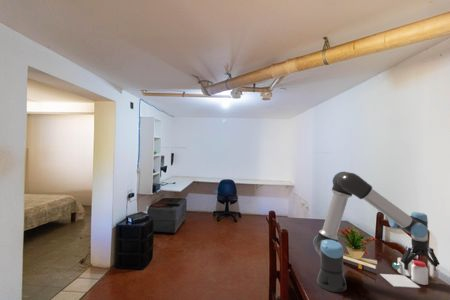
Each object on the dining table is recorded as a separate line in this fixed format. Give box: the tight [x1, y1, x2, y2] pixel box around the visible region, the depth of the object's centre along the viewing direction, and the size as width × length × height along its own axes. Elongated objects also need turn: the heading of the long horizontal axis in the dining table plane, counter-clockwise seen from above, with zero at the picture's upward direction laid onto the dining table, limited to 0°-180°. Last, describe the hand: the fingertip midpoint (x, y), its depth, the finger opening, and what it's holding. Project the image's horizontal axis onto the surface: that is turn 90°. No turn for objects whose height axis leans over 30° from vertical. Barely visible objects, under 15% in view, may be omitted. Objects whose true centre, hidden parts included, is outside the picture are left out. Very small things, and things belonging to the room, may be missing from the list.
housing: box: [397, 257, 415, 277], centre depth 151 cm, size 8×6×9 cm
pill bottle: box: [410, 260, 429, 286], centre depth 142 cm, size 8×8×11 cm
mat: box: [379, 273, 421, 289], centre depth 142 cm, size 14×14×1 cm
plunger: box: [391, 262, 403, 271], centre depth 151 cm, size 10×4×4 cm, turn 86°
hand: (419, 275), depth 142 cm, fingers open, 13 cm apart
